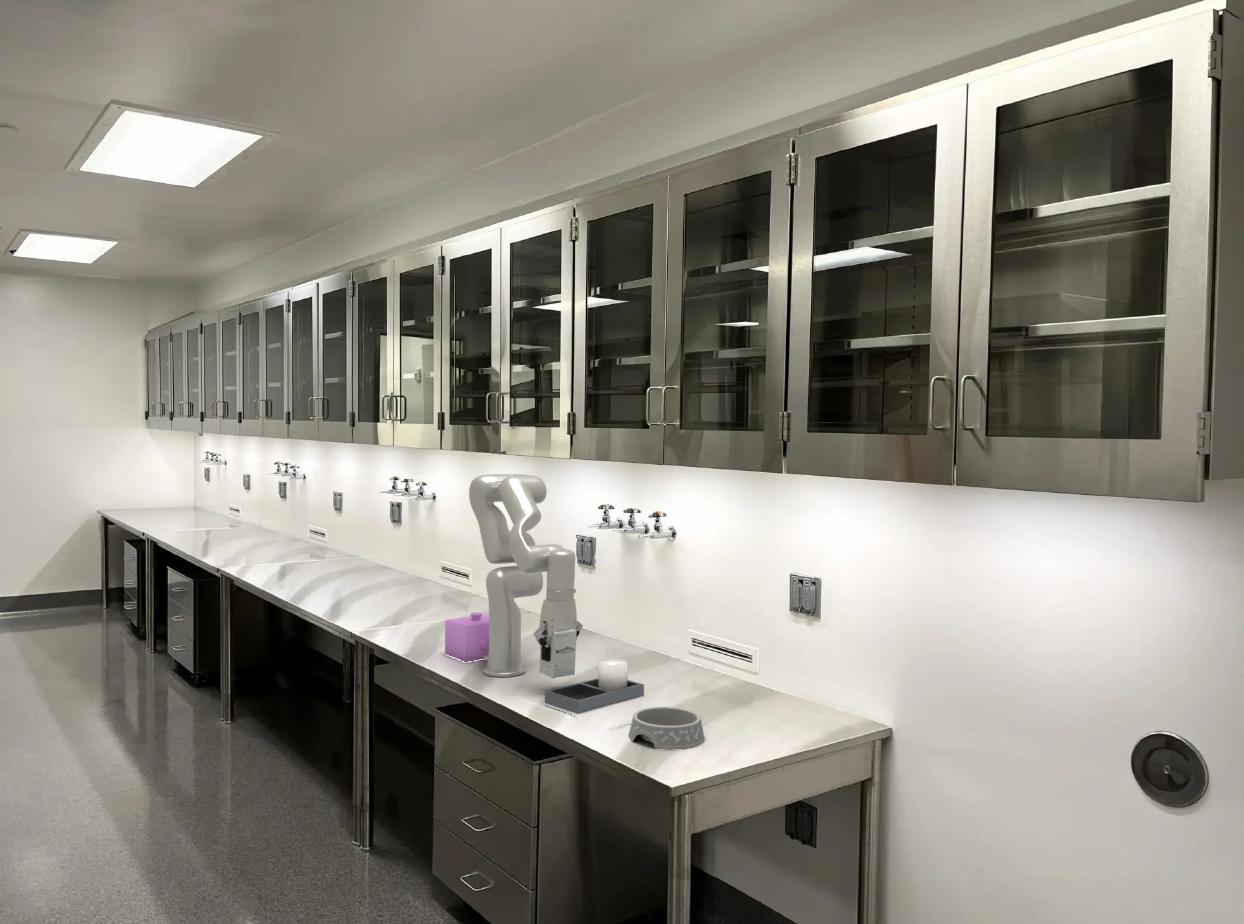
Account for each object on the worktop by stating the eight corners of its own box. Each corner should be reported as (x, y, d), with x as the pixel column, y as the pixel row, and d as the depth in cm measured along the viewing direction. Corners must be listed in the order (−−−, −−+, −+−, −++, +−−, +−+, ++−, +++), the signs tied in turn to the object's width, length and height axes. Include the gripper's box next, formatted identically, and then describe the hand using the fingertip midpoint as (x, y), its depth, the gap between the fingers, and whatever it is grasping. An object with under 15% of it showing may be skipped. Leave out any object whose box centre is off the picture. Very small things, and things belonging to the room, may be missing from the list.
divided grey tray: (544, 706, 238) (544, 691, 238) (610, 689, 255) (610, 674, 255) (577, 717, 229) (577, 701, 229) (643, 699, 246) (644, 684, 246)
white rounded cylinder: (591, 693, 247) (592, 661, 247) (613, 688, 252) (613, 656, 252) (612, 700, 241) (612, 666, 241) (633, 694, 247) (633, 661, 246)
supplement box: (552, 679, 244) (554, 633, 243) (538, 672, 250) (540, 626, 249) (575, 675, 248) (577, 630, 247) (561, 668, 254) (562, 623, 253)
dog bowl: (659, 721, 228) (659, 700, 228) (719, 738, 216) (719, 715, 216) (613, 738, 215) (614, 715, 215) (675, 756, 203) (675, 733, 203)
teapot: (476, 668, 276) (477, 622, 276) (437, 652, 296) (438, 610, 295) (518, 661, 286) (519, 617, 285) (478, 646, 305) (478, 605, 305)
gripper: (574, 588, 256) (572, 649, 257) (526, 596, 244) (524, 660, 245) (592, 593, 251) (590, 655, 252) (544, 601, 239) (541, 666, 240)
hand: (557, 657), depth 249 cm, fingers closed on supplement box, 7 cm apart
